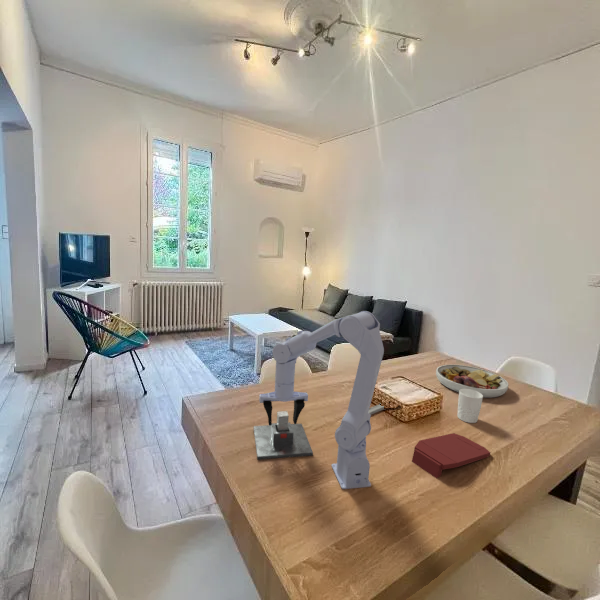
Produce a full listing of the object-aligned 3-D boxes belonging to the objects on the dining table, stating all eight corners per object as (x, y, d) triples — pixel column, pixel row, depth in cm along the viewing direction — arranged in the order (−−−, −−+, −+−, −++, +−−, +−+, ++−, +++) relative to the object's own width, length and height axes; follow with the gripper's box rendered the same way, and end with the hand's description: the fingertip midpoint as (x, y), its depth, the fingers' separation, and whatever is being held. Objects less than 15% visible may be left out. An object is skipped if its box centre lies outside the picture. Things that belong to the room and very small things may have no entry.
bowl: (437, 369, 177) (439, 355, 176) (503, 382, 164) (505, 367, 163) (432, 389, 150) (434, 373, 149) (510, 407, 138) (513, 389, 136)
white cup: (455, 420, 124) (458, 394, 122) (456, 411, 131) (459, 387, 129) (479, 426, 120) (483, 400, 119) (479, 417, 127) (483, 392, 126)
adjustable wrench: (353, 423, 118) (354, 418, 118) (341, 415, 124) (342, 410, 123) (401, 407, 132) (401, 403, 132) (388, 400, 137) (389, 396, 137)
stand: (312, 455, 98) (313, 441, 97) (257, 459, 95) (258, 445, 94) (301, 426, 113) (302, 413, 113) (253, 428, 110) (254, 416, 109)
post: (287, 440, 103) (288, 416, 101) (277, 441, 102) (278, 416, 101) (285, 434, 106) (287, 411, 104) (275, 435, 105) (277, 411, 104)
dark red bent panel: (452, 446, 114) (406, 458, 100) (455, 432, 114) (409, 442, 99) (489, 466, 104) (442, 483, 90) (492, 451, 104) (447, 465, 89)
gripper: (305, 375, 106) (302, 415, 108) (259, 376, 103) (257, 417, 105) (310, 384, 99) (307, 426, 101) (261, 385, 96) (259, 429, 98)
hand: (282, 422), depth 103 cm, fingers open, 7 cm apart
